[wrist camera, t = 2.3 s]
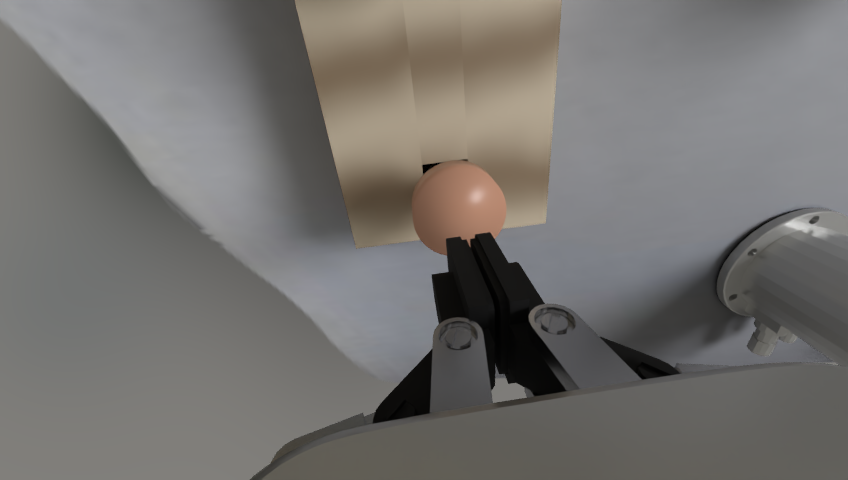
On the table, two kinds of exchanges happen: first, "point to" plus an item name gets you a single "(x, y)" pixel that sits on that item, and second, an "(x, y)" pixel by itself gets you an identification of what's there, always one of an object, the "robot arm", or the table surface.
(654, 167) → the table surface
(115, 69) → the table surface
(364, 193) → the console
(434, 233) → the terracotta button
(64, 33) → the table surface
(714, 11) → the table surface
